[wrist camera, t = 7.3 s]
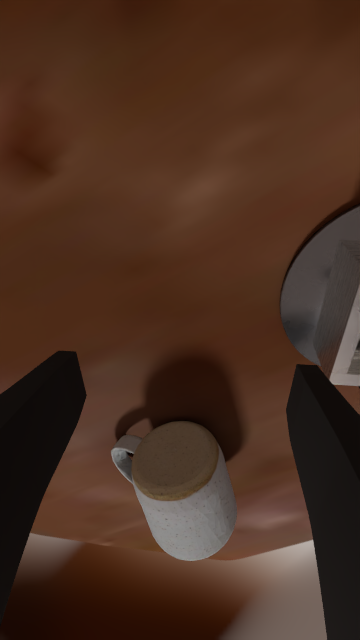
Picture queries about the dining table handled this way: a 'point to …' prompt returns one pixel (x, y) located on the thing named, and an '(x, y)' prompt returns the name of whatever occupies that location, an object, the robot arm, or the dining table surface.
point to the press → (327, 299)
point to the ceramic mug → (181, 487)
